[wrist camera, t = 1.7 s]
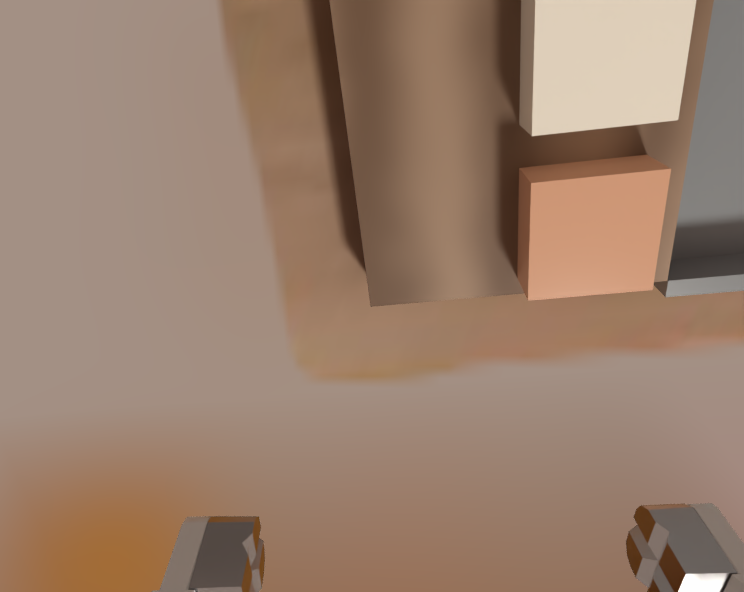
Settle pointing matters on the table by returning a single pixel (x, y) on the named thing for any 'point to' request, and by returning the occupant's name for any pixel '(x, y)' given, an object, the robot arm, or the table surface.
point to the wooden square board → (465, 143)
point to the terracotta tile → (590, 226)
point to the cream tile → (602, 63)
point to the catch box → (714, 169)
